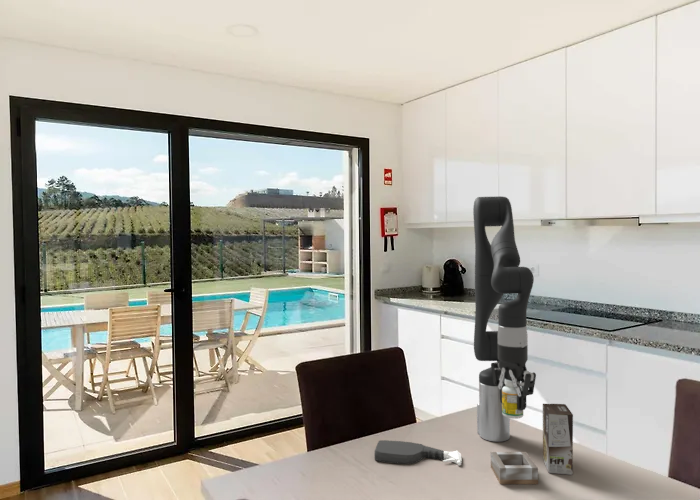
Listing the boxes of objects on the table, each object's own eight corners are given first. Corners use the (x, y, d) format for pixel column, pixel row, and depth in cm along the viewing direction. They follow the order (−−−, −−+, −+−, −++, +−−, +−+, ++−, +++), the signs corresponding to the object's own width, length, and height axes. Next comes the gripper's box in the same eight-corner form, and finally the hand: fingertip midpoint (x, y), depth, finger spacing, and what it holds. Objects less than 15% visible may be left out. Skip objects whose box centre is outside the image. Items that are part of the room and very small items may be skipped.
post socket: (500, 484, 131) (499, 468, 131) (490, 467, 141) (490, 452, 141) (537, 484, 131) (537, 467, 131) (526, 467, 141) (526, 451, 140)
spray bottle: (378, 447, 156) (461, 454, 151) (372, 463, 145) (461, 471, 140) (378, 438, 156) (461, 444, 151) (372, 453, 145) (461, 460, 140)
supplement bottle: (522, 420, 132) (522, 383, 132) (500, 417, 134) (500, 381, 134) (524, 413, 137) (524, 377, 137) (503, 410, 139) (503, 375, 139)
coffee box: (573, 475, 135) (573, 414, 135) (548, 473, 137) (547, 413, 136) (566, 460, 144) (566, 403, 144) (542, 458, 146) (542, 402, 145)
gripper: (482, 339, 140) (483, 400, 140) (522, 349, 127) (523, 417, 127) (503, 336, 143) (503, 396, 144) (544, 346, 130) (544, 412, 131)
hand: (512, 406), depth 135 cm, fingers closed on supplement bottle, 5 cm apart
